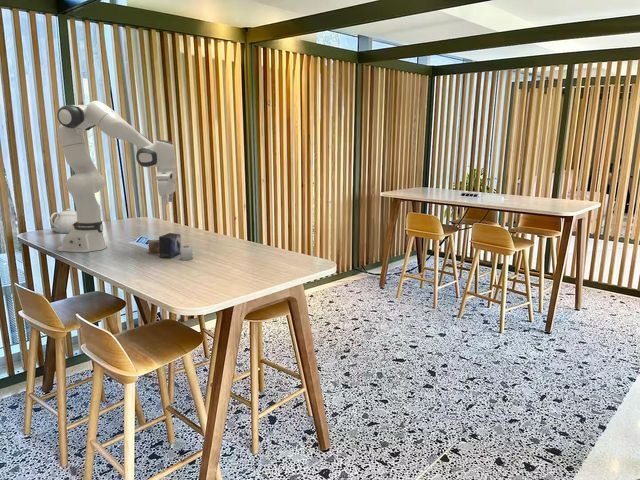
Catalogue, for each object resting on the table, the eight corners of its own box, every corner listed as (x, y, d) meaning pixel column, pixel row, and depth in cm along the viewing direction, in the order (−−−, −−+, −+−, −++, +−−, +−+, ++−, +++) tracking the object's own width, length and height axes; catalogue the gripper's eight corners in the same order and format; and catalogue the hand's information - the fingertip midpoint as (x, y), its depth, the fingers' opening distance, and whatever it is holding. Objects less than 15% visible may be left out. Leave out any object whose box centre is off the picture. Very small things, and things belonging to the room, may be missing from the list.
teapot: (53, 229, 281) (51, 207, 278) (87, 227, 289) (85, 206, 286) (50, 235, 265) (48, 211, 262) (86, 233, 272) (84, 210, 270)
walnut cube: (148, 254, 230) (148, 242, 229) (148, 251, 236) (148, 239, 234) (161, 253, 232) (161, 241, 231) (161, 250, 238) (160, 239, 236)
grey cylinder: (179, 260, 221) (179, 247, 220) (181, 257, 226) (181, 245, 225) (191, 260, 222) (190, 248, 220) (193, 257, 227) (193, 245, 226)
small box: (171, 258, 223) (170, 237, 221) (158, 257, 225) (158, 236, 222) (181, 253, 234) (181, 233, 231) (170, 252, 235) (169, 232, 232)
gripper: (165, 172, 230) (166, 200, 233) (154, 176, 211) (156, 206, 214) (178, 173, 231) (179, 200, 234) (168, 176, 211) (170, 206, 214)
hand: (168, 203), depth 224 cm, fingers open, 8 cm apart
